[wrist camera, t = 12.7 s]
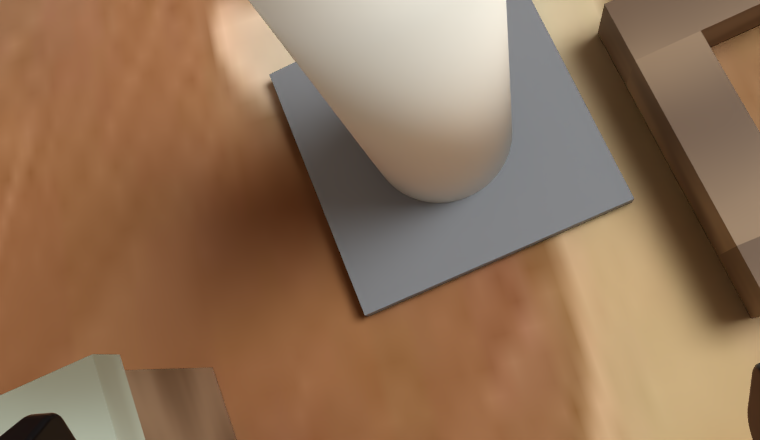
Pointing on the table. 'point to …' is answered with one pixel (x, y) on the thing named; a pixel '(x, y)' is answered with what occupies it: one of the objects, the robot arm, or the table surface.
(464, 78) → the key peg
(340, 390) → the table surface
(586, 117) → the mat
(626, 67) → the brown square frame
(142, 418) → the toolbox
